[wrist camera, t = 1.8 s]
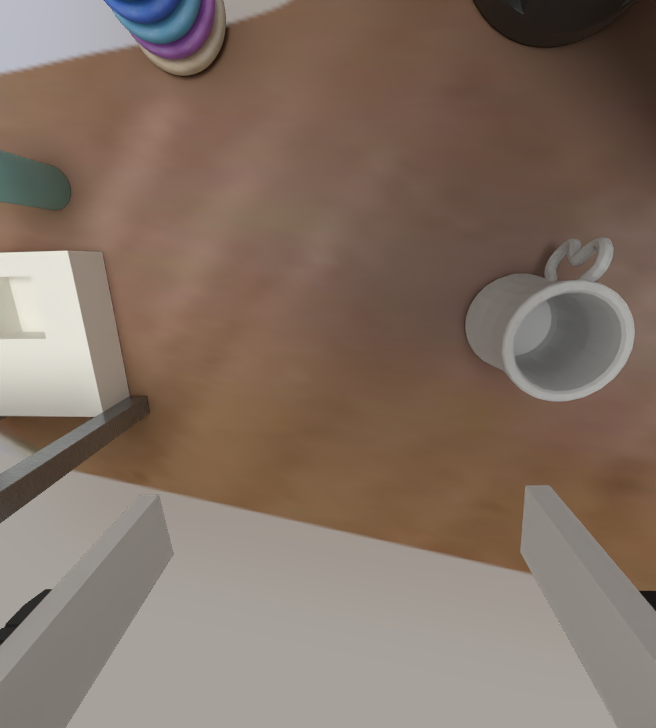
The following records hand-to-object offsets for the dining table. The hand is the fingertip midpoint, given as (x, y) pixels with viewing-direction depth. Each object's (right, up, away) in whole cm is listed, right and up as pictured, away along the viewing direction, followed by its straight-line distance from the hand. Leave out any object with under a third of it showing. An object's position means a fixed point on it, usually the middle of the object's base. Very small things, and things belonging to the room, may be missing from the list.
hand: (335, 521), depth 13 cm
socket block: (-30, +9, +26) cm, 41 cm away
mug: (+18, +11, +22) cm, 30 cm away
